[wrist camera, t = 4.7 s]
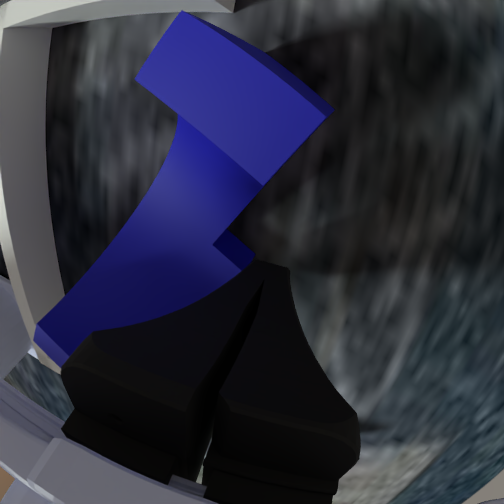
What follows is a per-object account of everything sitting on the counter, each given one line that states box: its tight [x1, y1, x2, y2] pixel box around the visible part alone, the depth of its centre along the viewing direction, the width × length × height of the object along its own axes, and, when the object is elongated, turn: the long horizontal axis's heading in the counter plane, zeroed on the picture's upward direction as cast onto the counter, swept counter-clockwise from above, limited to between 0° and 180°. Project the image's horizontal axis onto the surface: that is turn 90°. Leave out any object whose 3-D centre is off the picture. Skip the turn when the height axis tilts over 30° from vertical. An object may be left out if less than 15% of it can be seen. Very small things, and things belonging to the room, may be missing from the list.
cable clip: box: [33, 10, 335, 368], centre depth 10 cm, size 12×4×6 cm, turn 141°
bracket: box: [0, 0, 235, 374], centre depth 13 cm, size 10×20×3 cm, turn 171°
